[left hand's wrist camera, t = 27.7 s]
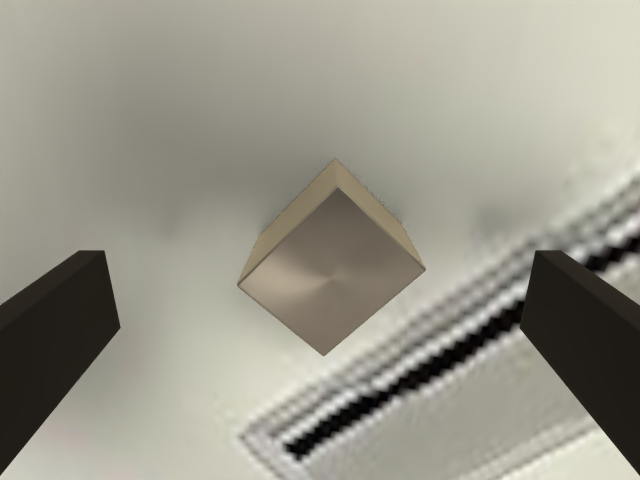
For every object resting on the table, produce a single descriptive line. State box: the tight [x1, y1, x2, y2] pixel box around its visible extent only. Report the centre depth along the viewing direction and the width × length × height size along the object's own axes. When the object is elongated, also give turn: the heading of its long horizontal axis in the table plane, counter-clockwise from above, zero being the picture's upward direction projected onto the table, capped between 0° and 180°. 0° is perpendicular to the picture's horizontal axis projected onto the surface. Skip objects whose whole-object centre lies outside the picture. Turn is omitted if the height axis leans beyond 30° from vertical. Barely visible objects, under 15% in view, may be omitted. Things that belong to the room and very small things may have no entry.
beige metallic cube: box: [237, 159, 426, 356], centre depth 16 cm, size 5×4×5 cm
